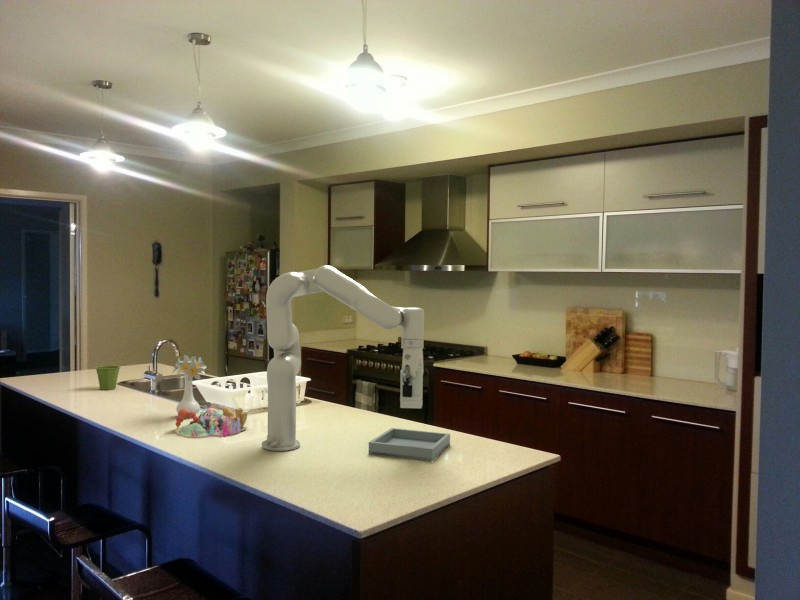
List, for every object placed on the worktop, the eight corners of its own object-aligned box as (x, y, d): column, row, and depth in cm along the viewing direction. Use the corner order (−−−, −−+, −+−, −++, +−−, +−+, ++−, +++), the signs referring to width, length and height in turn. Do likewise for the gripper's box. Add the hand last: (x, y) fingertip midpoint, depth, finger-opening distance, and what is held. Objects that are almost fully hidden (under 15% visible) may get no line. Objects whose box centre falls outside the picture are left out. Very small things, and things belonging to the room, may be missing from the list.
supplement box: (422, 404, 217) (423, 368, 217) (421, 409, 210) (422, 371, 210) (401, 403, 218) (402, 367, 218) (399, 408, 211) (400, 370, 210)
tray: (432, 461, 200) (432, 449, 200) (368, 454, 208) (368, 442, 208) (449, 445, 221) (450, 433, 221) (391, 438, 228) (391, 427, 228)
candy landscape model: (221, 421, 253) (221, 398, 253) (258, 430, 238) (258, 406, 238) (164, 432, 234) (164, 407, 233) (200, 443, 219) (200, 416, 219)
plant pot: (125, 387, 324) (125, 365, 323) (111, 391, 312) (111, 369, 311) (104, 386, 325) (104, 365, 325) (89, 390, 313) (89, 368, 313)
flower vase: (183, 422, 248) (183, 359, 247) (165, 414, 261) (165, 355, 261) (214, 418, 256) (215, 357, 255) (195, 410, 270) (196, 353, 269)
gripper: (415, 346, 204) (414, 400, 204) (430, 342, 220) (429, 391, 221) (393, 345, 206) (392, 398, 207) (410, 341, 223) (409, 389, 223)
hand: (411, 394), depth 214 cm, fingers closed on supplement box, 8 cm apart
